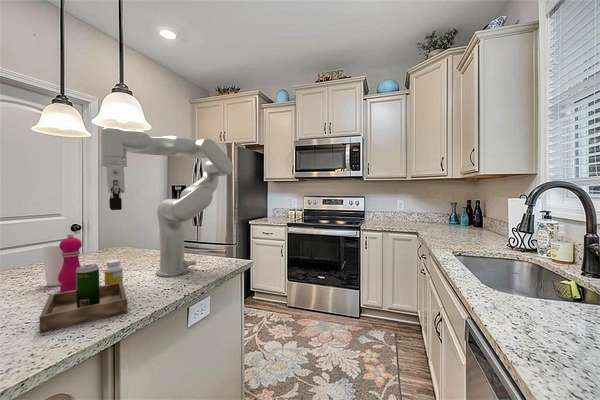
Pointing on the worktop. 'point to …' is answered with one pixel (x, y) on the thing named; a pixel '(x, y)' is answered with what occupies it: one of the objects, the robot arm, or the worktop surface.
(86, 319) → the box
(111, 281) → the supplement bottle
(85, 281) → the beer can
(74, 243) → the pepper mill
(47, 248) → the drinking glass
